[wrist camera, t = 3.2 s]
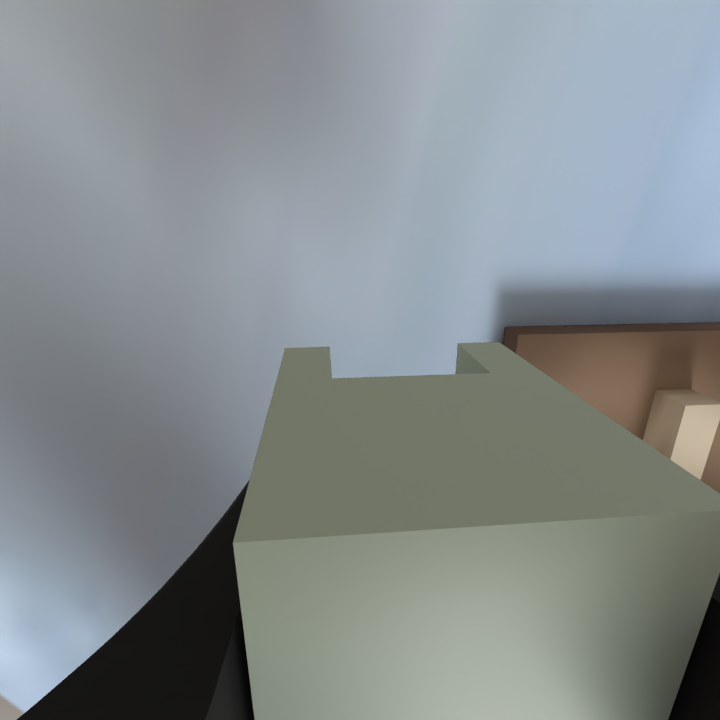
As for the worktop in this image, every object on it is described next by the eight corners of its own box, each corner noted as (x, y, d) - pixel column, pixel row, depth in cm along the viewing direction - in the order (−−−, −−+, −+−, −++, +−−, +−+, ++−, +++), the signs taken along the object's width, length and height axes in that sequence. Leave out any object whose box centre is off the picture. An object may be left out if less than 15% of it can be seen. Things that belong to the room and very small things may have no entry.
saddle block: (476, 546, 12) (622, 850, 6) (297, 558, 11) (276, 898, 6) (499, 342, 10) (742, 508, 4) (284, 348, 9) (233, 543, 4)
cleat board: (712, 598, 23) (760, 644, 21) (470, 618, 22) (489, 670, 20) (815, 320, 18) (896, 337, 16) (505, 326, 17) (537, 346, 14)
